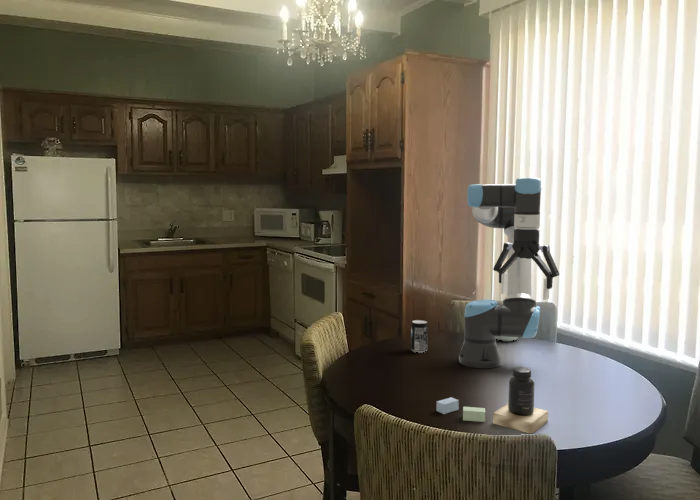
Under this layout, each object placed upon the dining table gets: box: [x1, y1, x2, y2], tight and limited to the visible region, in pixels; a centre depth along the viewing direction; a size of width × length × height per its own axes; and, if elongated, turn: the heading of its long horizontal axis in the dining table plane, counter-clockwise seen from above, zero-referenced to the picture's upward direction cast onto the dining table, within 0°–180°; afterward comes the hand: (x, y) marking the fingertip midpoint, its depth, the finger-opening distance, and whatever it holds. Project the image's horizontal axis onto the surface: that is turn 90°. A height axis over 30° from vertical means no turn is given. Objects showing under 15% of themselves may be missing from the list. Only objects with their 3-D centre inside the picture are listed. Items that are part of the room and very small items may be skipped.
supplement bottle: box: [507, 366, 536, 416], centre depth 157 cm, size 7×7×12 cm
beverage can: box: [410, 319, 429, 354], centre depth 229 cm, size 7×7×12 cm
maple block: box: [492, 403, 549, 434], centre depth 157 cm, size 11×11×3 cm
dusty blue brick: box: [436, 396, 460, 415], centre depth 166 cm, size 6×3×3 cm, turn 126°
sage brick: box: [462, 406, 486, 423], centre depth 160 cm, size 6×3×3 cm, turn 78°
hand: (524, 296), depth 178 cm, fingers open, 13 cm apart
